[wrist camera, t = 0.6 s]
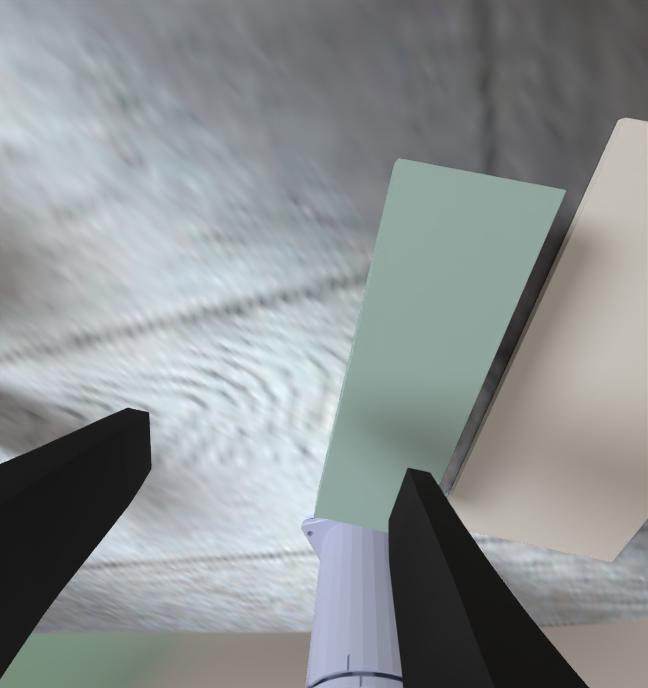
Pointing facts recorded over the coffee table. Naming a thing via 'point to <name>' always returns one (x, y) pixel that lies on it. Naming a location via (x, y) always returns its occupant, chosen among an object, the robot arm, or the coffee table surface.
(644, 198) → the mat
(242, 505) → the coffee table surface
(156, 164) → the coffee table surface
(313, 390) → the coffee table surface
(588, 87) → the coffee table surface
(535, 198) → the lid
